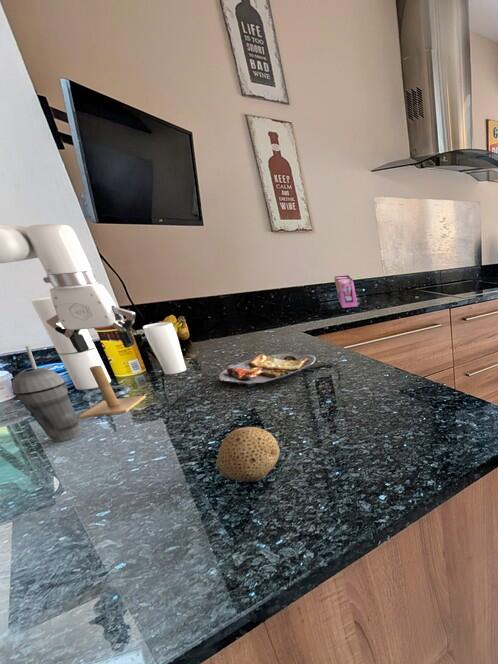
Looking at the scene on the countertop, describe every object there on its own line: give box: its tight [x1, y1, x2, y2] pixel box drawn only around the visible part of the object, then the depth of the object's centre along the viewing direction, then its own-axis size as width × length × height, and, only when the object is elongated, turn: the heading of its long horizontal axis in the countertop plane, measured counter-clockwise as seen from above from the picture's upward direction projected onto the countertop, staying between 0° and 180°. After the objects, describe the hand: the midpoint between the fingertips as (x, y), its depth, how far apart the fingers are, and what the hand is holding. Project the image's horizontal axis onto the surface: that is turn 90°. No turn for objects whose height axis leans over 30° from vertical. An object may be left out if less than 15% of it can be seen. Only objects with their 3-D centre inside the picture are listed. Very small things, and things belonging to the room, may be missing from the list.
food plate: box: [217, 352, 317, 386], centre depth 116 cm, size 25×23×4 cm
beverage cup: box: [11, 345, 83, 443], centre depth 80 cm, size 7×7×20 cm
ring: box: [81, 384, 132, 403], centre depth 104 cm, size 9×9×1 cm
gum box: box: [333, 274, 359, 309], centre depth 209 cm, size 24×8×14 cm, turn 27°
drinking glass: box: [142, 321, 187, 375], centre depth 116 cm, size 7×7×15 cm
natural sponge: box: [215, 426, 281, 483], centre depth 66 cm, size 9×9×10 cm
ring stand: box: [78, 366, 147, 419], centre depth 94 cm, size 9×9×11 cm
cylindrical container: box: [30, 295, 112, 391], centre depth 106 cm, size 7×7×25 cm
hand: (107, 348), depth 100 cm, fingers open, 9 cm apart
